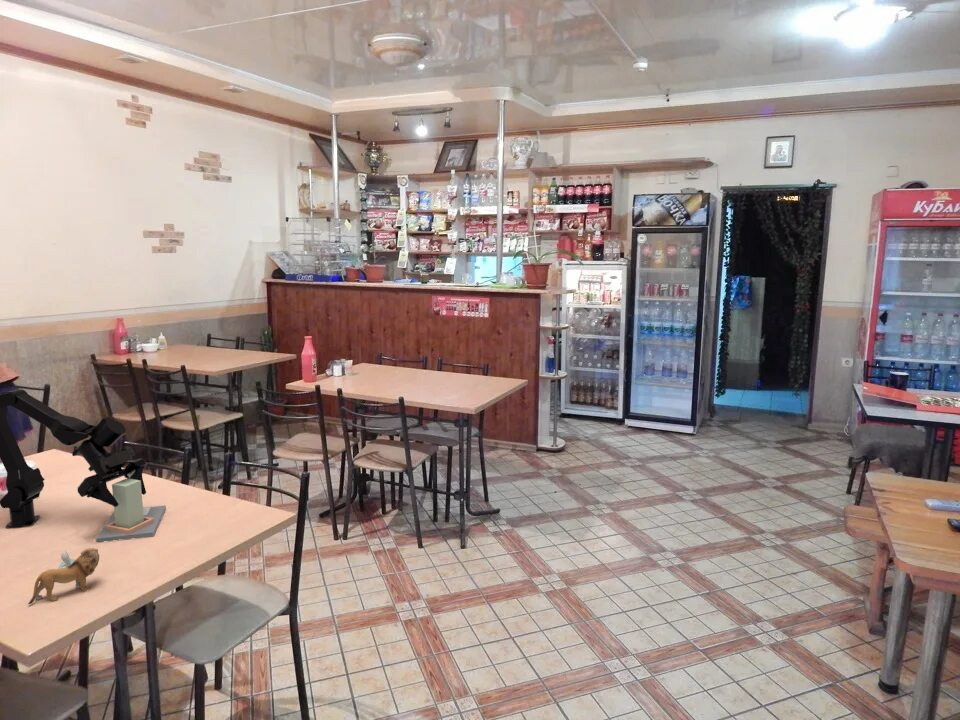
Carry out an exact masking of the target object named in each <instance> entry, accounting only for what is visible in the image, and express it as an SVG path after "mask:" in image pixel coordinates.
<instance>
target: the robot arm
mask: <svg viewBox="0 0 960 720" xmlns="http://www.w3.org/2000/svg"><path fill="white" fill-rule="evenodd" d="M8 407H12V408H14V409H16V410H17V411H19V412H22V413H23V415H26V416H27V417H29V418H31V419H32V420H34V421H36V422H37V423H40V424H41V425H43V426H44V427H46V429H49V430H50V433H51V435H52V436H53V437H54V438H55V439H56V440H57V441H58V442H60V443H61V444H62V445H65V446H72V445H75V444H77V443H80V442H81V441H82V442H81V443H80V444H79V445H75V446H73V450H72V452H71V453H72V456H73V457H76V456H82V457H83V459H84V460H85V461H86V462H87V464H88V471H89V472H93V471H94V473H95V474H93V475H91V476H88V477H85V478H84V479H83V481H82V482H81V483H79V485H78V486H77V493H78V494H79V496H80V497H81V498H83V497H86V498H92V499H95V500H98V501H101V502H104V503H106V504H108V505H109V506H110V505H111V506H113V507H114V506H115V507H117V506H118V505H119V504H118V502H117V501H116V499H115V498H114V496H113V493H111V491H110V490H109V488H108V485H107V484H108V482H109V483H110V482H111V481H113V480H116V479H119V478H121V477H124V479H127V478H129V479H134V480H140V481H141V490H142V496H144V495H146V494H147V490H146V487H145V486H146V485H145V483H144V480H143V472H144V471H145V469H146V466H147V465H148V463H147V461H146V460H145V459H144V458H137V459H134V460H133V457H135V456H136V452H135V450H134V449H133V447H132V446H130V445H129V446H125V447H123V448H121V449H120V452H117V453H116V452H114V451H111V452H110V451H109V450H108V449H107V447H108V448H109V447H112V446H113V445H114V444H115V443H116V442H117V441H119V439H120V438H121V437H122V436H124V434H125V433H126V431H127V430H126V426H125V425H124V424H123V423H122V422H121V421H118V420H116V419H112V418H110V417H109V416H106V417H103V418H101V420H100V421H99V423H98V424H97V425H95V424H89V423H87V422H86V421H84V420H83V419H80V418H77V417H75V416H70V415H65V414H62V413H60V412H58V411H57V410H55V409H53V408H52V407H50V406H49V405H47V404H45V403H43V402H42V401H40V400H39V399H37V398H35V397H33V396H32V395H30V394H29V393H28V392H27V391H26V390H24V389H21V388H20V389H19V388H18V389H14V390H10V391H3V392H0V460H1V463H2V465H3V467H4V469H5V472H6V480H5V488H6V490H7V493H6V494H5V495H4V496H3V497H2V498H1V499H0V506H1V508H2V509H8V512H9V519H10V521H9V522H8V523H7V524H6V525H5V529H8V528H9V529H10V528H19V527H20V528H21V527H30V526H33V525H34V524H35V523H36V522H37V521H38V520H39V518H40V517H41V515H36V514H35V507H34V506H35V505H34V500H35V499H37V498H39V497H40V494H41V492H42V491H43V489H44V487H45V483H44V481H45V480H46V479H45V478H44V477H43V475H42V474H41V470H40V468H38V467H35V468H32V466H31V467H30V466H29V465H28V464H27V461H26V459H25V456H24V455H23V453H22V451H21V449H20V446H19V444H18V442H17V440H16V437H15V436H14V433H13V431H12V429H11V427H10V424H9V422H8V420H7V416H8V411H9V410H8V409H9V408H8ZM88 438H89V439H88ZM128 461H129V463H128V464H127V465H126V462H128ZM125 465H126V466H125ZM123 467H124V468H123Z"/></svg>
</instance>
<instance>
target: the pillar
mask: <svg viewBox="0 0 960 720" xmlns="http://www.w3.org/2000/svg"><path fill="white" fill-rule="evenodd" d="M111 489H112V495H113V496H114V498H115V499H116V501H117V502H118V504H119V505H118V506H117V507H115V506H113V512H114V515H115V526H117V527H122V528H127V529H130V528H132V527H134V526H136V525H138V524H140V523H142V522H144V516H143V508H144V505H143V494H142V490H141V481H140V480H134V479H129V478H124V479H122V480H120V481H117V482H114V483H111Z"/></svg>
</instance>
